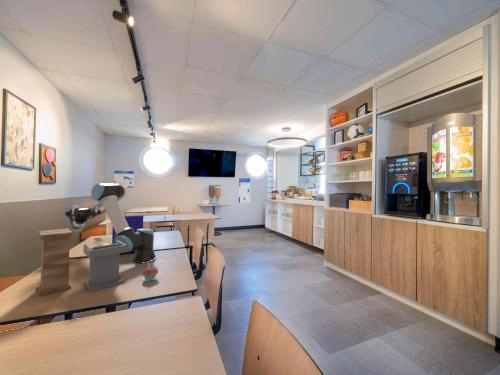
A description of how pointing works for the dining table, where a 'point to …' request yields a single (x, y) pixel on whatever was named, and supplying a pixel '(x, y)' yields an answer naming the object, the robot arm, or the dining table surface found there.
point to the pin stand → (54, 261)
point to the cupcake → (150, 273)
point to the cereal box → (131, 226)
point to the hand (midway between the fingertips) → (86, 207)
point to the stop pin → (102, 244)
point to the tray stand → (104, 267)
